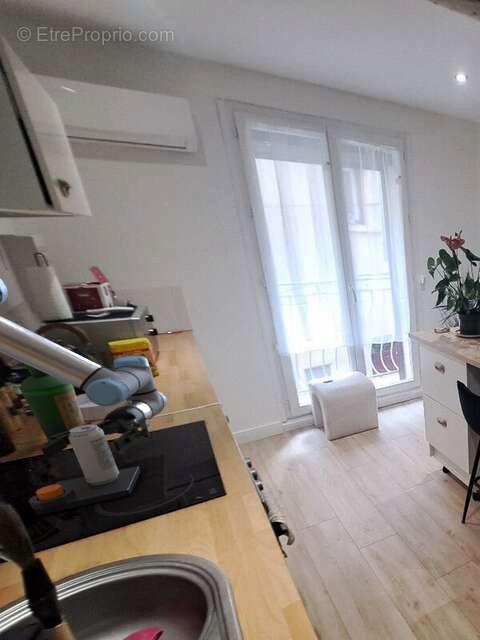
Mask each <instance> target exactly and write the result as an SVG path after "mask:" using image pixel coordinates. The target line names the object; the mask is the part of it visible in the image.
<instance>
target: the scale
mask: <svg viewBox="0 0 480 640" xmlns="http://www.w3.org/2000/svg"><path fill="white" fill-rule="evenodd" d="M118 471H119V474H118V475H117V478H116V479H115V480H113V481H111V482H109V483H105V484H101V485H92V484H91V483H88V482H87V481H86V478H85V476H82V477H81V476H80V477H76V478H71V479H66V480H60V481H56V482H55V484H59V485H61V486H62V489H63V491H64V494H62V495H60V496H58V497H55V498H52V499H48V500H39V498H38V496H37V494H35V495H34V496H31V497H30V499H29V500H28V504H29V505H30V507H31V508H32V509H33V510H34V511H35V512H36V515H37V516H43V515H47V514H51V513H52V514H53V513H56V512H61V511H65V510H69V509H75V508H78V507H83V506H88V505H93V504H97V503H100V502H106V501H109V500H115V499H119V498H123V497H128V496H131V493H132V491H133V489H134V487H135V485H136V483H137V480H138V478H139V476H140V474H141V472H142V471H141V468H140V466H139V465H137V466H132V467H127V468H122V469H118Z"/></svg>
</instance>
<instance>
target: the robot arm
mask: <svg viewBox="0 0 480 640" xmlns="http://www.w3.org/2000/svg"><path fill="white" fill-rule="evenodd" d="M7 298H8V288H7V286H6V284H5V283H4V281H3V279H2V278H0V305H2V304H3V303H4V302H6V300H7ZM0 354H4V355H6V356H8V357H10V358H12V359H14V360H16V361H19V362H20V363H23V364H24V363H25V364H27V365H30V366H32V367H34V368H36V369H38V370H40V371H43V372H45V373H47V374H49V375H51V376H54V377H56V378H58V379H60V380H62V381H64V382H67V383H69V384H71V385H73V387H75V388H77V389H80V390H82V391H83V392H85V394H86V396H87V398H88V399H89V400H90V401H91V402H93V403H94V404H97V405H100V406H113V405H116V404H118V403H120V402H123V401H124V400H126V401H127V402H126V403H124V404H123V405H121V406H120V407H118V408H116V409H114V410H113V411H111V412H110V413H108V414H107V415H106V417H105V419H103V420H102V421H101V422H98V423H95V424H96V425H97V427H99V428H100V429H102V430H103V432H104V435H105V436H110V435H111V436H112V435H114V434H119V437H117V438H116V439H115V440H113V441H112V443H113V445H114V448H115V450H116V452H121V451H123V450H124V449H125V448H126V447H128V445H130V444H131V443H134V442H135V441H136V440H139V439H141V438H142V437H144V438H150V437H151V434H150V431H149V427H150V426H151V425H150V422H149V421H150V420H152V419H153V418H154V417H155V416H157V415H158V414H160V413H162V412H163V410H164V409H165V407H166V406H167V403H168V399H167V397H166V396H165V394H163V393H162V392H161V391H159V390H158V388H157V387H156V386H157V385H156V383H155V379H154V376H153V373H152V367H151V366H150V364H149V361H148V359H147V357H145V356H142V355H128V356H122V357H118V358H115V359H114V360H113V369H114V371H112V370H110V369H108V368H106V367H104V366H101V365H100V364H97V363H96V362H95V361H92V360H90V359H87V358H86V357H83V356H82V355H79V354H78V353H75V352H74V351H71V350H70V349H67V348H66V347H63V346H62V345H60V344H58V343H55V342H54V341H52V340H49V339H47V338H45V337H43V336H41V335H39V334H38V333H36V332H33V331H32V330H29V329H28V328H25V327H23V326H21V325H19V324H17V323H15V322H13V321H11V320H9V319H8V318H5V317H3V316H1V315H0ZM84 423H85V422H84ZM88 424H92V422H90V421H88V422H86V423H85V424H83V425H88ZM69 435H70V430H68V431H65V432H62V433H59V434H56V435H53V436H50V437H48V439H49V441H50V442H49V441H48V442H49V443H48V444H46V445H45V446H44V447H42V448H41V449H40V450H41V452H42V454H43V456H44V459H45V460H46V459H47V460H48V459H51V458H53V457H54V456H56V455H57V454H58V453H61V452H62V451H63V450H65V449H67V448H68V446H70V445H71V443H70V440H69Z"/></svg>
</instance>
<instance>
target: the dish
mask: <svg viewBox="0 0 480 640" xmlns="http://www.w3.org/2000/svg"><path fill="white" fill-rule="evenodd" d="M76 397H77V401H78V404H79V407H80V410H81V414H82V417H83V420H84V422H90V421H91V422H92V421H98V420H104V419H105V417H106V415H107V414H108V413H110V412H111V411H113V410H114V409H116V408H118V407H120V406H121V405H123V404H124V403H126V402H127V401H126V400H124V401H123V402H120V403H118V404H116V405H113V406H100V405H97V404H94V403H93V402H91V401H90V400H89V399H88V398H87V396H86V393H82V394H78V395H76Z"/></svg>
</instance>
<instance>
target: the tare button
mask: <svg viewBox="0 0 480 640" xmlns="http://www.w3.org/2000/svg"><path fill="white" fill-rule="evenodd" d="M62 494H64V491H63V489H62V486H61V485H59V484H56V483H55V484H50V485H46V486H44V487H40V488H39V489H37V490H36V491H35V495H37V496H38V498H39V500H48V499H52V498H55V497H58V496H60V495H62Z"/></svg>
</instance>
